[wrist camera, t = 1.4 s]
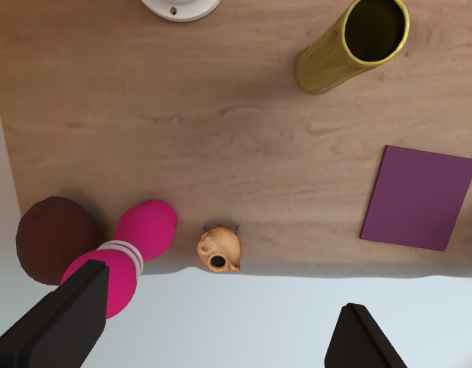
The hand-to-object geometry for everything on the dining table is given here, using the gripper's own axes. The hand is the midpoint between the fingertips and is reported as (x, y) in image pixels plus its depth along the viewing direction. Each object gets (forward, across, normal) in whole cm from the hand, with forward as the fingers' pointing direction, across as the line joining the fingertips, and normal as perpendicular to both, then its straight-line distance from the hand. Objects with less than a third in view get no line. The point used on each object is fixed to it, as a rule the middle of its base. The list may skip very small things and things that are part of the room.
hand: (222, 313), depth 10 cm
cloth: (+27, -27, -1) cm, 38 cm away
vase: (+27, -8, -16) cm, 33 cm away
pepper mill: (+27, +10, +9) cm, 30 cm away
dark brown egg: (+27, +21, +12) cm, 36 cm away
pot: (+27, 0, +10) cm, 29 cm away
